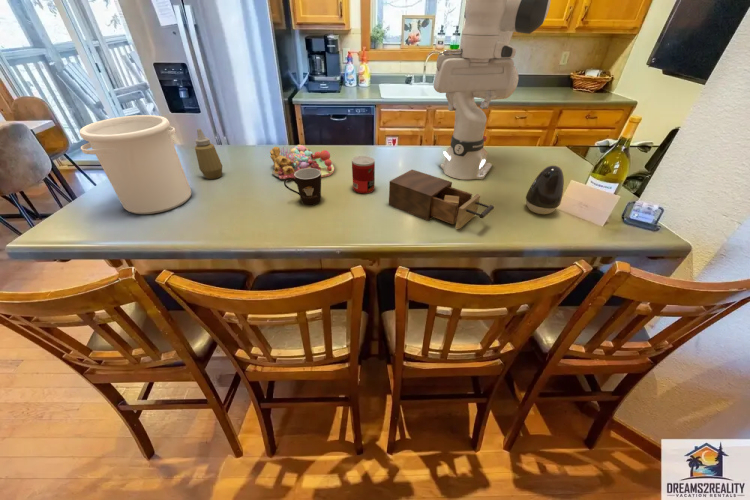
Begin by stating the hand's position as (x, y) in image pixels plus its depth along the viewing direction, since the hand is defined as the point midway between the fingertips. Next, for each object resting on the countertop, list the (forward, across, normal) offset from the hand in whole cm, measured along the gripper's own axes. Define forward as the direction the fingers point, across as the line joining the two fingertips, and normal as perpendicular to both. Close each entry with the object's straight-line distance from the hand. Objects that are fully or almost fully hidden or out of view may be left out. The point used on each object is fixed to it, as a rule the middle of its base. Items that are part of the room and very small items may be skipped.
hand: (467, 109), depth 85 cm
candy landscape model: (+31, -45, +45) cm, 71 cm away
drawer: (+30, -1, -5) cm, 31 cm away
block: (+29, -2, -4) cm, 29 cm away
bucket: (+31, -94, +29) cm, 103 cm away
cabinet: (+31, -9, +6) cm, 33 cm away
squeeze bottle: (+31, -80, +46) cm, 97 cm away
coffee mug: (+31, -45, +18) cm, 58 cm away
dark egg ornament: (+31, +28, -6) cm, 43 cm away
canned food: (+31, -25, +22) cm, 45 cm away
